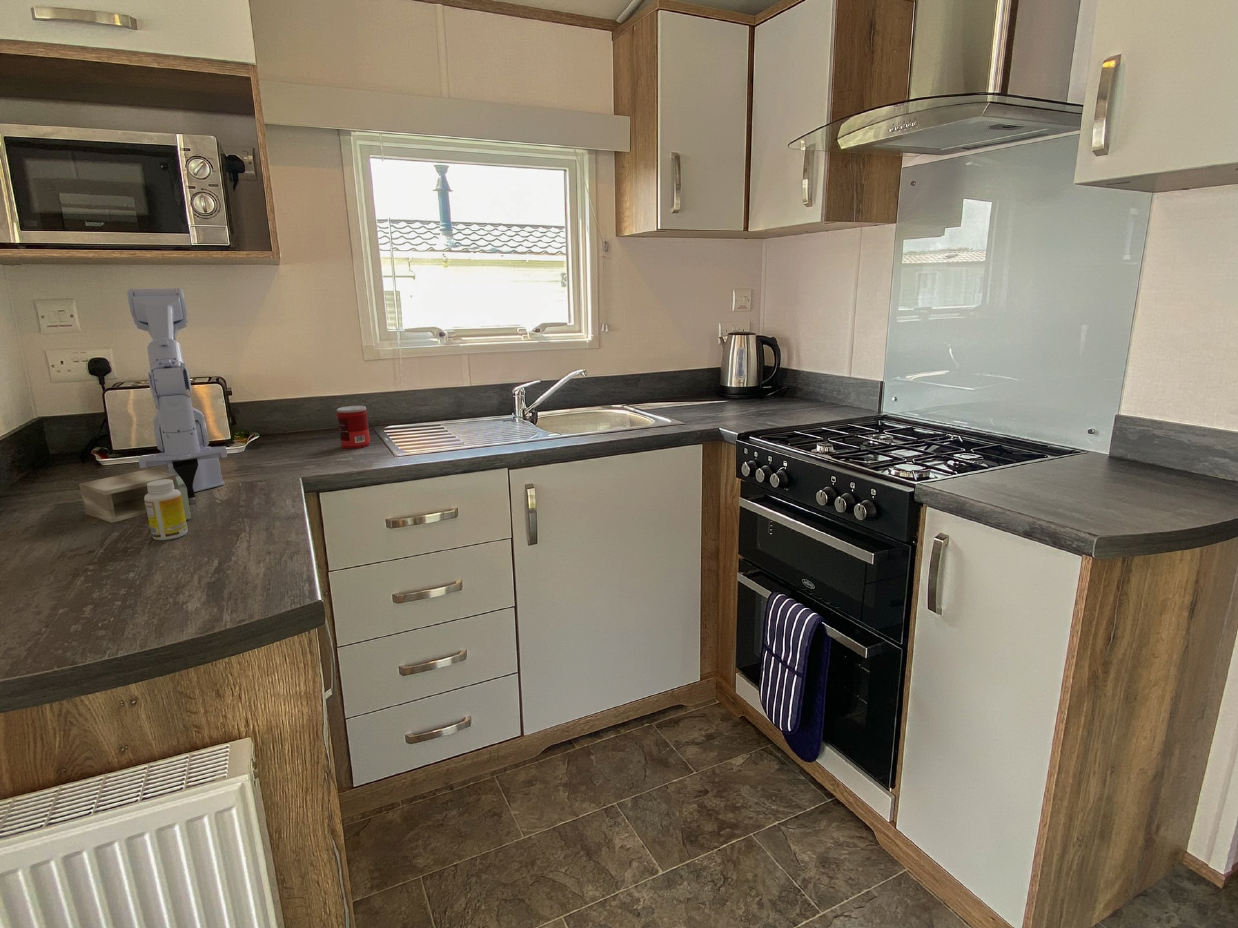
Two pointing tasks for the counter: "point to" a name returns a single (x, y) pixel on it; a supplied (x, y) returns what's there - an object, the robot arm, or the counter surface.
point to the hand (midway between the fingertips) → (191, 497)
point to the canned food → (353, 427)
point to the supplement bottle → (165, 510)
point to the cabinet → (120, 494)
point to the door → (185, 497)
